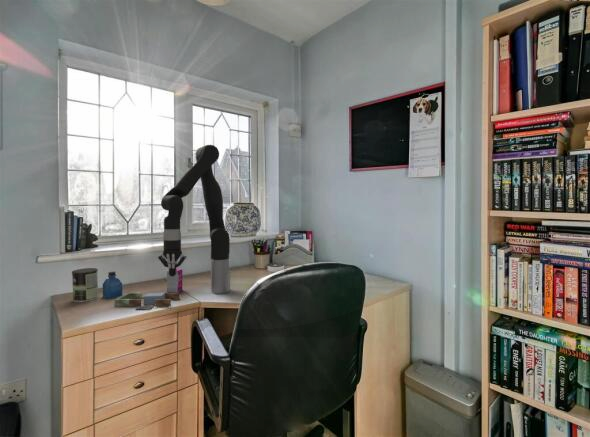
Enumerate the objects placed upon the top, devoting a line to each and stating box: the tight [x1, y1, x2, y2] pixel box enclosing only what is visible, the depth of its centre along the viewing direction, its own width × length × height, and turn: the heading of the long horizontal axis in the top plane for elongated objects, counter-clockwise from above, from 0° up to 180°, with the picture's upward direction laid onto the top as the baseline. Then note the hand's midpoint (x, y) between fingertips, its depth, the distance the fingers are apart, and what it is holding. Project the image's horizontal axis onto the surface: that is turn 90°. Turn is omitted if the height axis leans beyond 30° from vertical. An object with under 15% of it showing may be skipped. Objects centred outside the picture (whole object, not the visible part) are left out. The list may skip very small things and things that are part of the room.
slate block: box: [143, 292, 166, 306], centre depth 143 cm, size 8×5×4 cm, turn 97°
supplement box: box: [166, 268, 183, 293], centre depth 161 cm, size 6×6×12 cm
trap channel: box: [114, 292, 181, 311], centre depth 143 cm, size 25×20×3 cm
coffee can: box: [71, 267, 99, 303], centre depth 148 cm, size 10×10×14 cm
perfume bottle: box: [102, 271, 123, 300], centre depth 153 cm, size 6×6×12 cm
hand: (172, 276), depth 142 cm, fingers closed
